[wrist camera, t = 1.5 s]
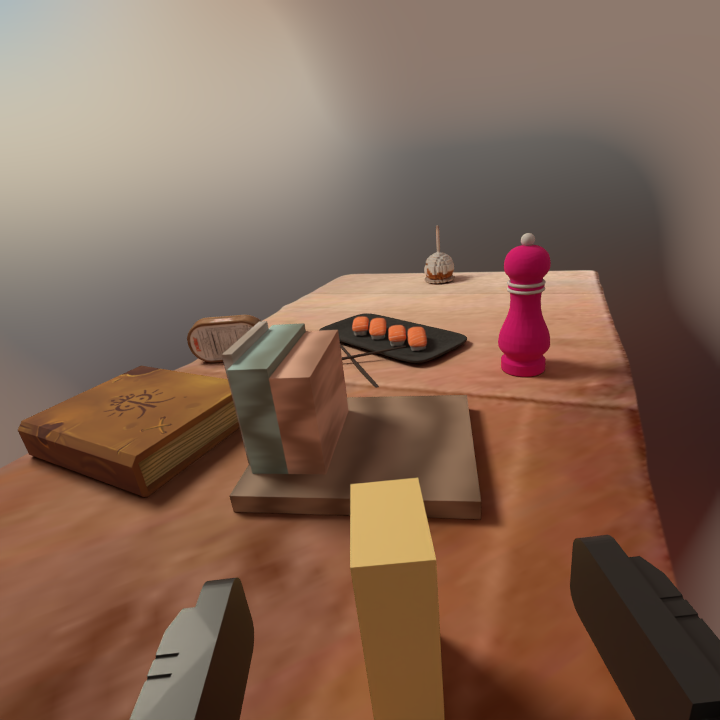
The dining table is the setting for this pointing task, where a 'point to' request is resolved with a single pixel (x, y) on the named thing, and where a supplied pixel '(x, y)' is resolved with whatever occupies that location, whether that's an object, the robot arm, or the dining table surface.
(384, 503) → the tall mustard yellow pillar
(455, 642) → the dining table surface
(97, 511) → the dining table surface
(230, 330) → the tin
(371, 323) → the sushi plate
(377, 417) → the blocks on base plate
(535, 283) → the pepper mill
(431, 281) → the caramel apple
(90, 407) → the diary
